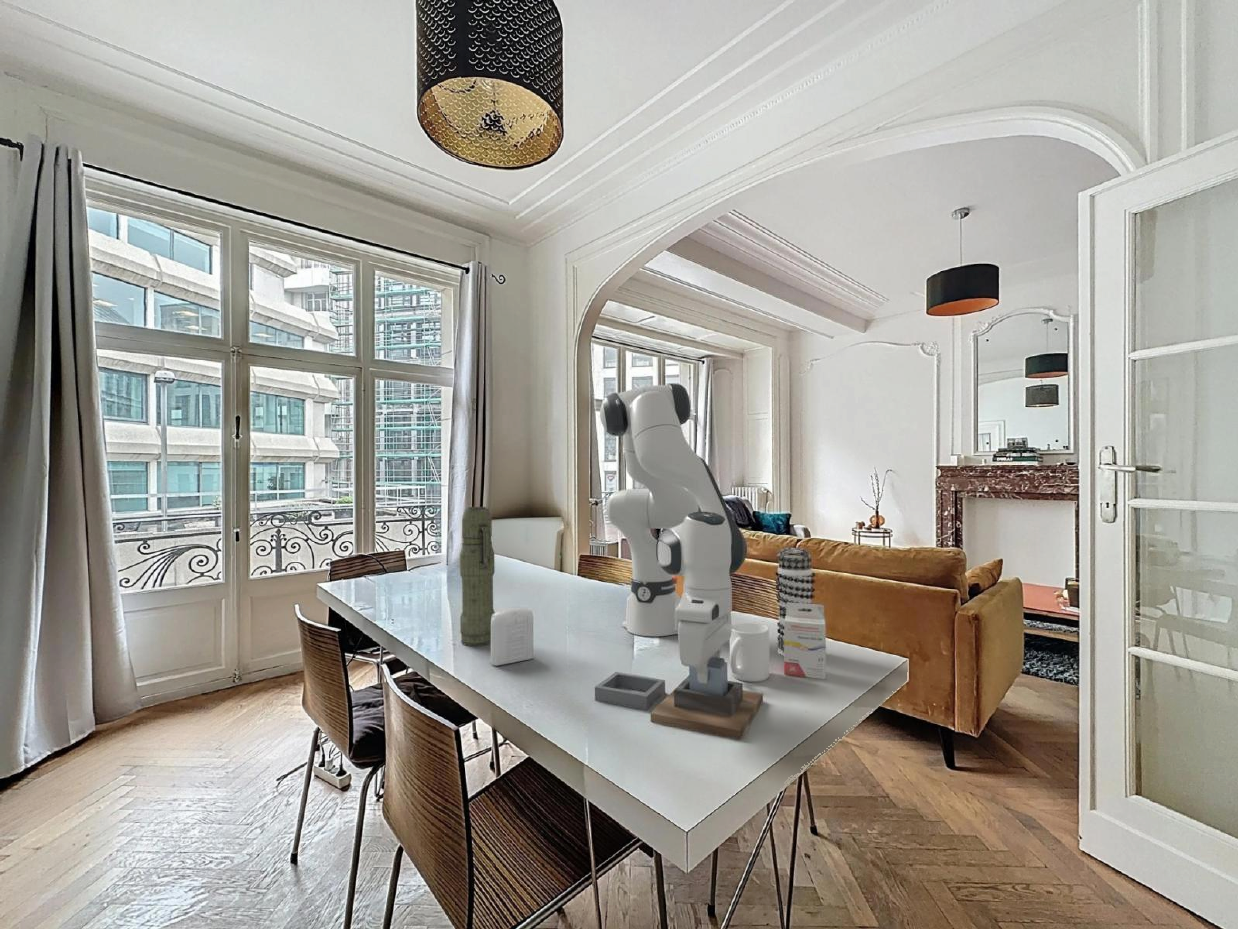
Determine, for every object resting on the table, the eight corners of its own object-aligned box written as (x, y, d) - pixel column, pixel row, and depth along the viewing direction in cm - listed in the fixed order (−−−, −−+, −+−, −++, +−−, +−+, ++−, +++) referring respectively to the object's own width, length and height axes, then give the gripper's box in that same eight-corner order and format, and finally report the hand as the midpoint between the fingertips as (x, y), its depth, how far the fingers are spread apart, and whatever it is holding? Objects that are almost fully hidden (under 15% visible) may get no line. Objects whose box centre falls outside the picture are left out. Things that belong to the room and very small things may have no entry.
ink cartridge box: (783, 675, 122) (783, 606, 122) (785, 667, 126) (784, 601, 127) (826, 680, 119) (825, 609, 119) (826, 671, 124) (825, 604, 124)
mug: (749, 691, 113) (748, 640, 113) (713, 681, 119) (712, 632, 119) (776, 674, 122) (775, 626, 122) (742, 666, 128) (741, 620, 128)
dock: (683, 687, 116) (683, 665, 116) (763, 701, 108) (762, 677, 108) (650, 721, 100) (650, 696, 100) (740, 739, 93) (739, 712, 93)
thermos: (480, 632, 156) (479, 505, 157) (505, 641, 148) (503, 507, 148) (451, 639, 150) (449, 507, 150) (475, 649, 142) (473, 509, 142)
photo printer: (528, 654, 138) (528, 603, 138) (536, 659, 134) (535, 606, 134) (488, 662, 132) (487, 609, 132) (494, 668, 128) (494, 613, 128)
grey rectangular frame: (615, 684, 118) (615, 671, 118) (665, 692, 113) (664, 680, 113) (594, 700, 110) (594, 687, 110) (646, 710, 105) (646, 696, 105)
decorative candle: (816, 661, 130) (815, 552, 130) (774, 657, 133) (773, 550, 133) (816, 649, 139) (815, 547, 139) (777, 645, 142) (775, 545, 142)
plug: (696, 696, 108) (696, 653, 108) (727, 701, 105) (727, 658, 105) (689, 704, 104) (689, 660, 104) (721, 709, 101) (721, 665, 101)
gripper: (708, 588, 115) (709, 656, 115) (671, 612, 97) (672, 693, 97) (739, 591, 112) (739, 661, 112) (707, 615, 94) (708, 699, 94)
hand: (708, 676), depth 104 cm, fingers open, 5 cm apart
